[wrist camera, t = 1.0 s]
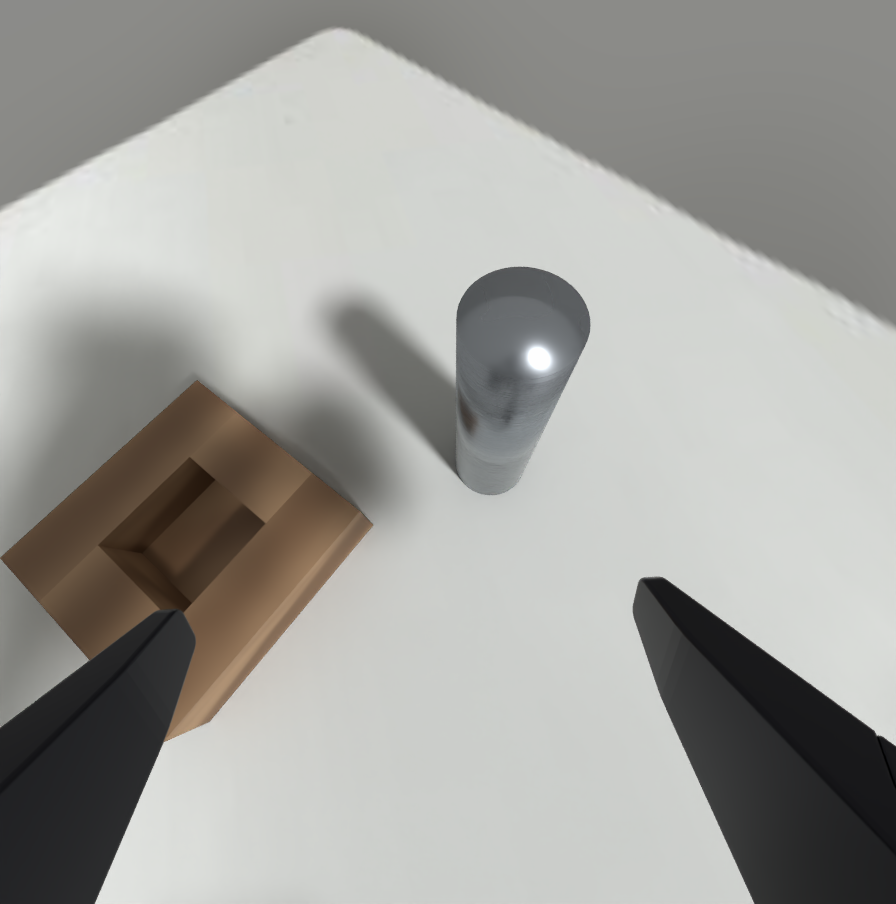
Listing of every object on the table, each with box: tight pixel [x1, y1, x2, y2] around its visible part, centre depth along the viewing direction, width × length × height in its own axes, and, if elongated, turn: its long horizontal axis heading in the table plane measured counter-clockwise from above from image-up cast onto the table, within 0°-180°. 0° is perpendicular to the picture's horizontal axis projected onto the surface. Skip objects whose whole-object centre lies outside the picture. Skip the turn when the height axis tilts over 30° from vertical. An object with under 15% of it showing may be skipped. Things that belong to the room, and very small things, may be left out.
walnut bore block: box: [0, 380, 373, 742], centre depth 22 cm, size 12×12×4 cm
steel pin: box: [456, 267, 590, 495], centre depth 19 cm, size 4×4×13 cm
